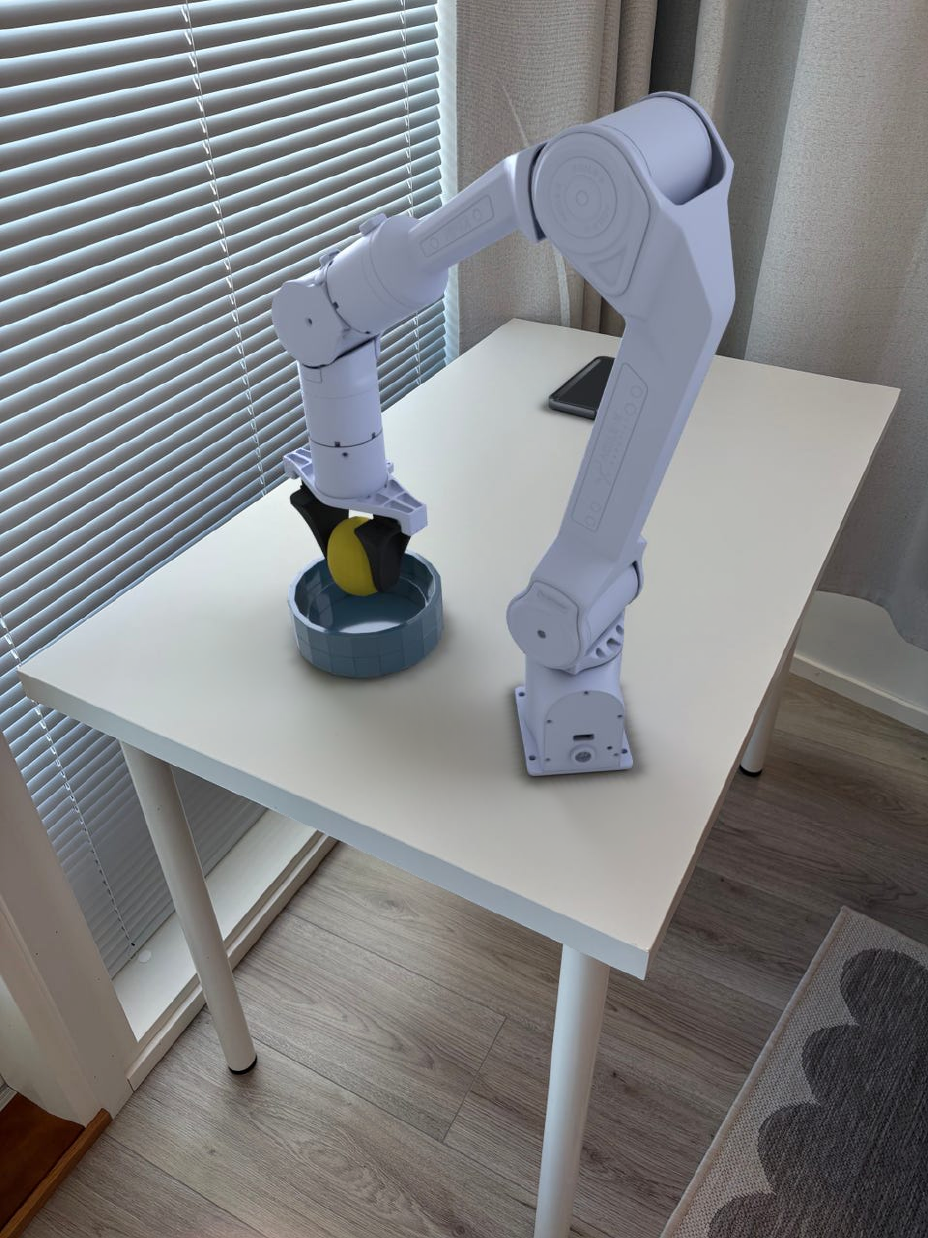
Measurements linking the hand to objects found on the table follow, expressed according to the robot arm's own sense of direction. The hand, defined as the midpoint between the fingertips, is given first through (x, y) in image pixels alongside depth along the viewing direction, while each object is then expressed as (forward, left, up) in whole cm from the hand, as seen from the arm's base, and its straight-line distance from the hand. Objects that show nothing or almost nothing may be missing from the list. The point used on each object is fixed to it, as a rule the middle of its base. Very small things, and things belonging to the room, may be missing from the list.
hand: (362, 572), depth 81 cm
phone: (+45, -29, -7) cm, 54 cm away
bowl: (0, 0, -7) cm, 7 cm away
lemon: (0, 0, -3) cm, 3 cm away
